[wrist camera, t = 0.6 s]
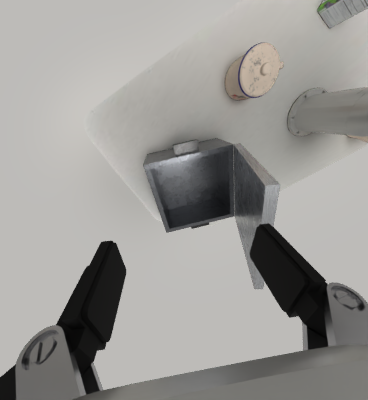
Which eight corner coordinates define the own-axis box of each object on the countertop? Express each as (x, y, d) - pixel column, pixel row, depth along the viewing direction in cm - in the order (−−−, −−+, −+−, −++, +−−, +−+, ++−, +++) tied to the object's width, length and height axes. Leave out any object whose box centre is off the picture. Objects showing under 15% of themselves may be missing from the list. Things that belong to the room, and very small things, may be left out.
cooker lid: (233, 144, 35) (253, 140, 34) (234, 216, 46) (249, 215, 45) (265, 186, 16) (311, 181, 15) (254, 289, 28) (280, 289, 27)
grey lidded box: (215, 129, 44) (232, 133, 34) (221, 203, 57) (234, 221, 47) (144, 146, 43) (139, 155, 33) (167, 216, 57) (168, 238, 47)
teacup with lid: (226, 105, 41) (246, 102, 31) (221, 64, 36) (244, 44, 26) (266, 92, 41) (301, 83, 31) (267, 48, 36) (308, 22, 26)
